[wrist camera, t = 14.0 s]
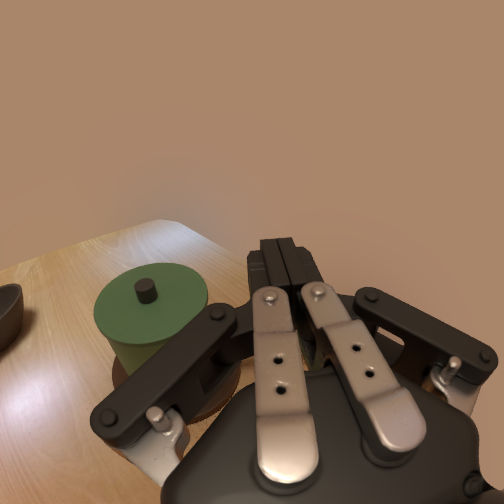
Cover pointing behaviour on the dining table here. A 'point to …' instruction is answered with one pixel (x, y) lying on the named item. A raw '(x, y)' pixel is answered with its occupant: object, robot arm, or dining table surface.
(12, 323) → the bowl
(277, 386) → the robot arm
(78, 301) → the dining table surface
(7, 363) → the dining table surface
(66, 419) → the dining table surface
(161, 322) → the pot
